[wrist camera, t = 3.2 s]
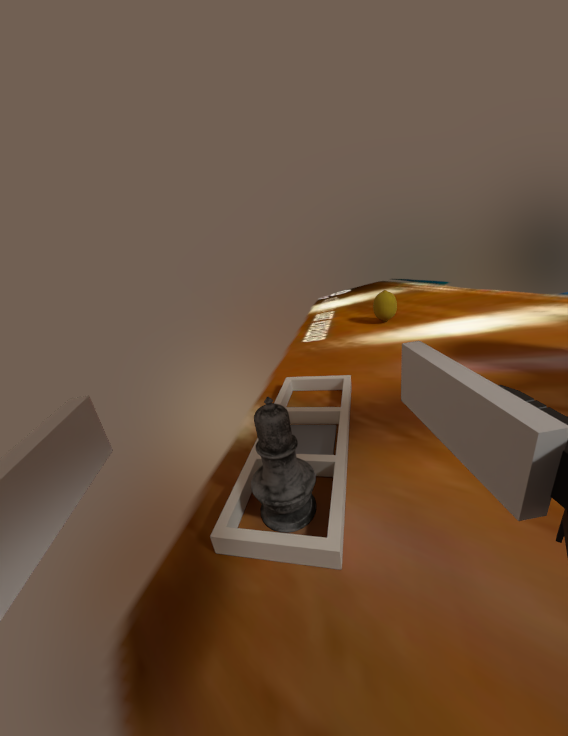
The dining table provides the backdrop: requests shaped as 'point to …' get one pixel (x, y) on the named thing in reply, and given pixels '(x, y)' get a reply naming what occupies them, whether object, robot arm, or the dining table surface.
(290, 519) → the dark chess piece
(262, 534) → the pocket rack
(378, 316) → the lemon
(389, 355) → the dining table surface
